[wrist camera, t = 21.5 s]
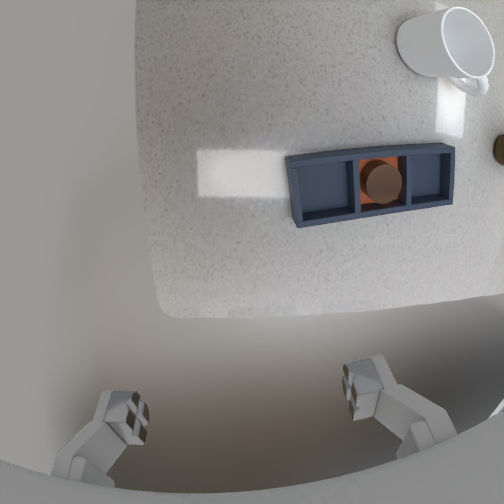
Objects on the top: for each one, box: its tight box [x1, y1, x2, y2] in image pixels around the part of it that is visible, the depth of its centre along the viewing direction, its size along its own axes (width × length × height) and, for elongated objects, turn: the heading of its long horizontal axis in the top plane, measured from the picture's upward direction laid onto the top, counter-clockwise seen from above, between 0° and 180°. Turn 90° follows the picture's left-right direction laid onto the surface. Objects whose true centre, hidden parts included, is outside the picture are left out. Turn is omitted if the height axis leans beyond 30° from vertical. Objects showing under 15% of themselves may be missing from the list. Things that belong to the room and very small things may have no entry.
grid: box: [285, 143, 455, 228], centre depth 36 cm, size 8×23×3 cm, turn 99°
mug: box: [397, 7, 495, 96], centre depth 25 cm, size 12×8×10 cm
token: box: [360, 160, 402, 204], centre depth 36 cm, size 5×5×2 cm
